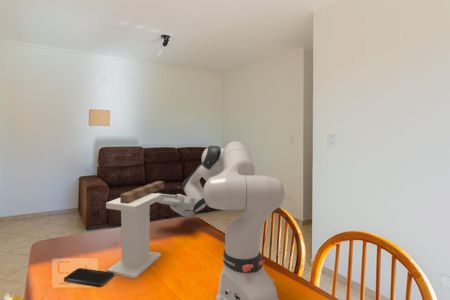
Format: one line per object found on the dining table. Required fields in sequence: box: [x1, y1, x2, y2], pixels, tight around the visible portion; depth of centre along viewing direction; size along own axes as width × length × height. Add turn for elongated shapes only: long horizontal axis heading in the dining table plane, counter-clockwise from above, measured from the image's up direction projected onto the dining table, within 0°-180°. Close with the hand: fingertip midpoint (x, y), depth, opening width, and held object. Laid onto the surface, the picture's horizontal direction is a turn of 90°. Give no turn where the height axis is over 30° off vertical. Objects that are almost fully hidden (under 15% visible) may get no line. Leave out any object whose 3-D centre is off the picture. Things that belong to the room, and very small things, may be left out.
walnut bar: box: [119, 180, 165, 204], centre depth 108 cm, size 26×3×3 cm, turn 163°
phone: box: [63, 267, 115, 288], centre depth 95 cm, size 8×1×15 cm
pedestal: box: [105, 192, 163, 280], centre depth 104 cm, size 18×12×26 cm, turn 163°
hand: (167, 195), depth 127 cm, fingers open, 8 cm apart
